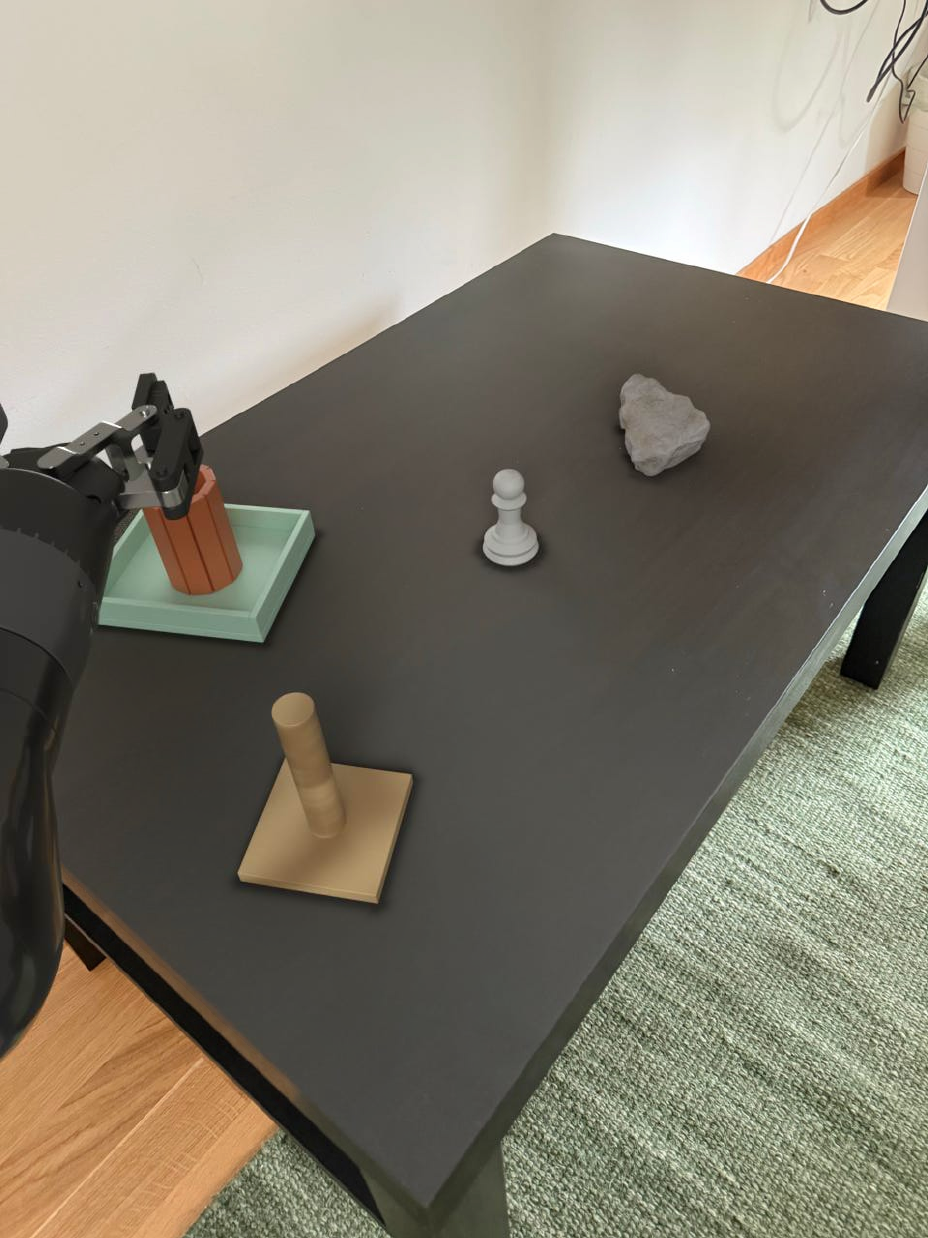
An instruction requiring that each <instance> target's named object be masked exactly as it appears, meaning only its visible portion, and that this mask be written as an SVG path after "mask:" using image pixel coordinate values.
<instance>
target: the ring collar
mask: <svg viewBox="0 0 928 1238" xmlns="http://www.w3.org/2000/svg"><path fill="white" fill-rule="evenodd" d="M213 471H214V470H213V469H212V468H210V466H207V465H204V464H202V463H201V466H200V470H199V474H198V478H197V482H196V486H195V490H194V494H193V498H192V502H191V506H190V510H189V513H188V514H187V515H186V516H185V517H183V518H181V519H179V520H168V519H166V518H165V517H164V514H163V512H162V509H161V507H150V508H142V511H143V513H144V516H145V519H146V521H147V524H148V526H149V529H150V531H151V534H152V536H153V539H154V541H155V544H156V546H157V549H158V551H159V554H160V557H161V559H162V562H163V564H164V567H165V569H166V572H167V574H168V577H169V579H170V582H171V584H172V587H173V588H174V589H175V590H177V591H180V592H182V593H185V594H187V595H191V594H192V595H193V596H195V595H204V594H212V593H213V590H214V591H215V592H218V591H220V590H221V589H223V588H225V587H226V586H228V585H230V584H232V583H233V581H232V580H234V581H235V580H236V578H237V576H238V575H239V573H240V571H241V569H242V565H243V564H242V561H241V557H240V554H239V551H238V548H237V545H236V541H235V538H234V535H233V532H232V529H231V526H230V522H229V519H228V516H227V513H226V510H225V506H224V504H225V503H224V499H223V497H222V494H221V491H220V488H219V485H218V481H217V479H216V476H215V474H214V472H213Z"/></svg>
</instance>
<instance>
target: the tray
mask: <svg viewBox="0 0 928 1238" xmlns="http://www.w3.org/2000/svg"><path fill="white" fill-rule="evenodd" d="M224 506H225V510H226V513H227V516H228V519H229V522H230V526H231V529H232V532H233V535H234V538H235V541H236V545H237V548H238V551H239V554H240V557H241V561H242V564H243V565H242V569H241V571H240V573H239V575H238V576H237V578H236V580H235V581H234V580H232V581H233V583H232V584H230V585H228V586H226V587H225V588H223V589H221V590H220V591H218V592H215V591H214V590H213V593H212V594H204V595H195V596H193V595H192V594H191V595H187V594H185V593H182V592H180V591H177V590H175V589H174V588H173V587H172V584H171V582H170V579H169V577H168V574H167V572H166V569H165V567H164V564H163V562H162V559H161V557H160V554H159V551H158V549H157V546H156V544H155V541H154V539H153V536H152V534H151V531H150V529H149V526H148V524H147V521H146V519H145V516H144V513H143V511H142V508H140V510H139V511H138V512H137V514H136V515H135V517H134V518H133V519H132V522H130V524H129V525H128V527H127V528H126V530H125V531H124V533H122V535H121V536H120V538H119V539H118V541H117V543H116V544H114V550H113V557H112V561H111V565H110V570H109V574H108V578H107V582H106V587H105V591H104V595H103V599H102V603H101V608H100V612H99V625H102V626H111V627H120V628H128V629H138V630H145V631H155V632H165V633H172V634H181V635H191V636H199V637H200V636H201V637H207V638H219V639H225V640H226V639H227V640H237V641H246V642H254V643H264V642H265V640H266V638H267V635H268V634H269V632H270V630H271V628H272V626H273V624H274V622H275V620H276V617H277V615H278V614H279V611H280V609H281V607H282V605H283V603H284V601H285V599H286V597H287V595H288V593H289V590H290V589H291V586H292V584H293V583H294V580H295V578H296V576H297V574H298V572H299V570H300V568H301V566H302V564H303V562H304V559H305V558H306V556H307V554H308V552H309V549H310V547H311V545H312V543H313V541H314V539H315V537H316V532H315V526H314V523H313V520H312V514H311V511H310V510H306V509H304V510H303V509H296V508H295V509H293V508H282V507H269V506H257V505H245V504H234V503H224Z"/></svg>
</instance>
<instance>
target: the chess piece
mask: <svg viewBox="0 0 928 1238" xmlns="http://www.w3.org/2000/svg"><path fill="white" fill-rule="evenodd" d="M492 489H493V491H494V493H493V494H492V496H491V503H492V505H494V506H495V507H496V508H497V512H498V520H497V523H496V524H494V525H492V526H491V527H490V528H488V529H487V531H486V532H485V534H484V537H483V538H484V541H483V545H482V550H483V553H484V555H485V557H487V558H488V559H489V560H490V561H491V562H493V563H495V564H497V565H500V566H505V567H515V566H520V565H523V564H526V563H527V562H529V561H530V560H532V559H533V558H534V557H535V556H536V554H537V553H538V551H539V546H540V545H539V541H538V539H537V538H538V537H537V533H536V530H535V529H534V528H533V527H532V526H531V525H529V524H527V523H524V522H523V519H522V517H521V516H522V515H521V514H522V507H523V505H525V503H526V502H527V495H526V494H525V492H524V489H525V479H524V477H523V475H522V474H521V473H520V472H519V471H518V470H516V469H511V468H506V469H502V470H500V471H498V472H497V473H496V474H495V476H494V478H493V480H492Z"/></svg>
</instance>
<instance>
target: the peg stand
mask: <svg viewBox="0 0 928 1238" xmlns="http://www.w3.org/2000/svg"><path fill="white" fill-rule="evenodd" d="M271 708H272V709H271V718H272V720H273V724H274V726H275V729H276V733H277V735H278V739H279V741H280V744H281V748H282V750H283V753H284V756H285V757H284V760H283V762H282V764H281V767H280V770H279V771H278V774H277V777H276V779H275V782H274V783H273V787H272V788H271V791H270V793H269V796H268V798H267V800H266V803H265V806H264V808H263V810H262V812H261V815H260V817H259V820H258V823H257V824H256V827H255V830H254V832H253V835H252V837H251V839H250V841H249V844H248V846H247V849H246V852H245V854H244V856H243V859H242V861H241V864H240V866H239V868H238V871H237V876H238V878H239V880H240V882H244V883H250V884H256V885H262V886H268V887H274V888H281V889H287V890H292V891H299V892H305V893H311V894H317V895H324V896H329V897H334V898H340V899H347V900H353V901H360V902H366V903H373V904H379V902H380V898H381V895H382V891H383V888H384V884H385V881H386V877H387V873H388V871H389V867H390V864H391V860H392V856H393V853H394V850H395V846H396V843H397V839H398V836H399V833H400V829H401V826H402V822H403V819H404V815H405V812H406V809H407V805H408V802H409V799H410V794H411V791H412V787H413V784H414V781H413V780H414V779H413V774H412V773H405V772H396V771H391V770H390V771H389V770H382V769H375V768H368V767H361V766H354V765H346V764H339V763H333V762H331V758H330V755H329V751H328V748H327V744H326V741H325V737H324V733H323V730H322V727H321V723H320V719H319V716H318V713H317V709H316V705H315V702H314V700H313V699H312V697H310V695H308V694H306V693H302V692H290V693H287V694H284V695H282V696H280V697H279V698H278V699H277V700H275V702H274V703H273V705H272V707H271Z"/></svg>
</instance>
